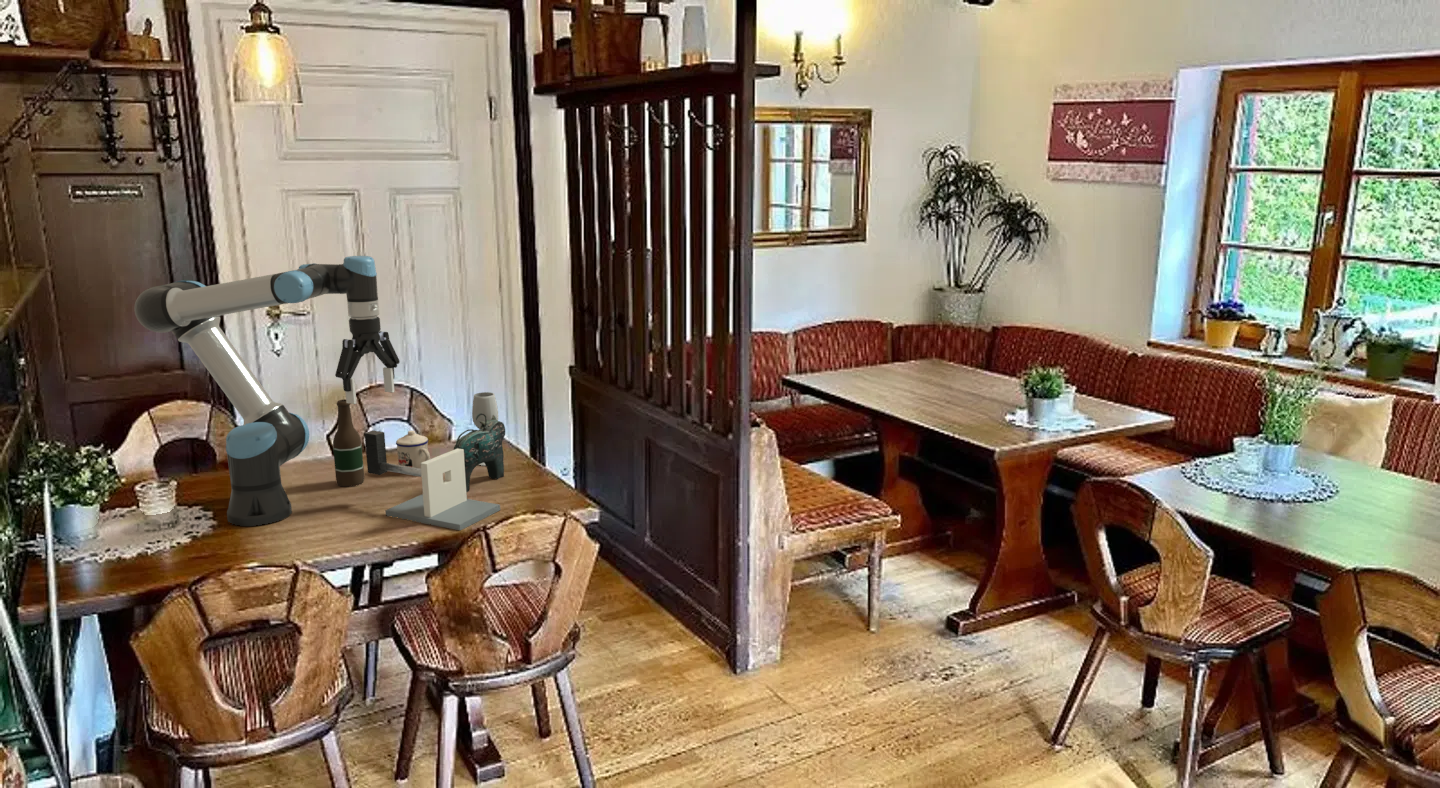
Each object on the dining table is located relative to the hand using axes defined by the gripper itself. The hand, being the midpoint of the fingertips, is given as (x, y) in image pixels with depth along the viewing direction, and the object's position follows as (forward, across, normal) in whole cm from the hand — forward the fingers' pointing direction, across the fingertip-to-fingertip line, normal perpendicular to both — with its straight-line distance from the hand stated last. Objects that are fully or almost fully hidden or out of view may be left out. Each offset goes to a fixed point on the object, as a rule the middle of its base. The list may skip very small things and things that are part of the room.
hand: (370, 397), depth 264 cm
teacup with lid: (+29, +25, +9) cm, 39 cm away
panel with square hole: (+28, 0, -23) cm, 36 cm away
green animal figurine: (+29, +23, -16) cm, 40 cm away
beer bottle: (+29, +8, +18) cm, 35 cm away
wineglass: (+29, +40, -5) cm, 50 cm away
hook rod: (+21, 0, -9) cm, 22 cm away
